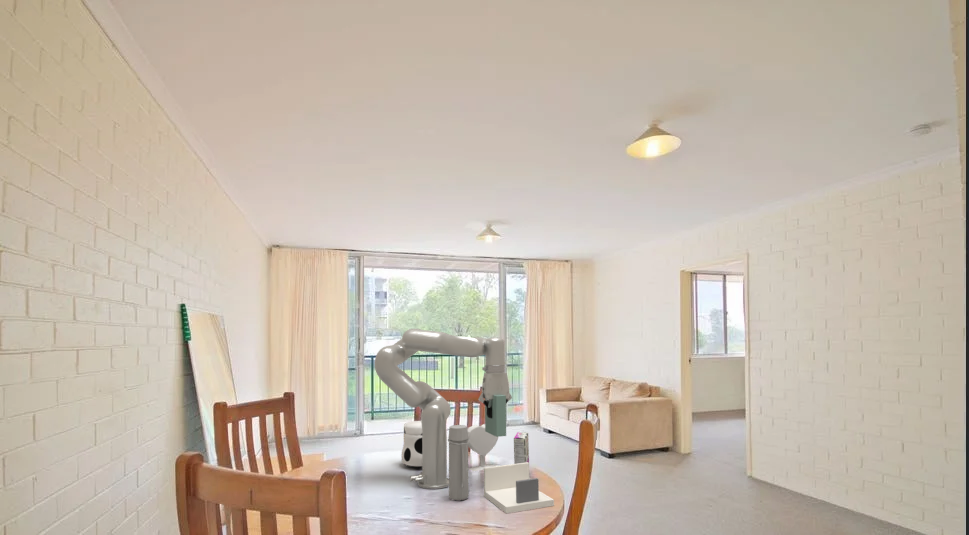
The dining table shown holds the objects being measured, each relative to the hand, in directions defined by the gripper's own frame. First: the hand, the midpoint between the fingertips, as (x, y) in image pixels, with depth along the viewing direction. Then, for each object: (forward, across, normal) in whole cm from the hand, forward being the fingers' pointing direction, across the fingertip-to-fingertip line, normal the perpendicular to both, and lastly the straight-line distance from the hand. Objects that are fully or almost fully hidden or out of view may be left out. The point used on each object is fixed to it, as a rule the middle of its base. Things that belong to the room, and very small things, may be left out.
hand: (495, 416), depth 206 cm
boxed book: (+6, 0, 0) cm, 6 cm away
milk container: (+26, -18, +41) cm, 52 cm away
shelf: (+26, 0, -19) cm, 32 cm away
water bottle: (+26, -18, -8) cm, 33 cm away
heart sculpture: (+26, +5, +26) cm, 37 cm away
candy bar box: (+26, +15, +8) cm, 31 cm away
